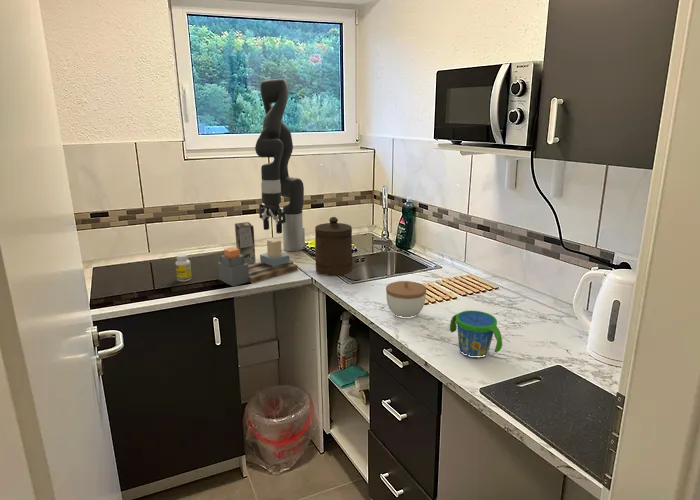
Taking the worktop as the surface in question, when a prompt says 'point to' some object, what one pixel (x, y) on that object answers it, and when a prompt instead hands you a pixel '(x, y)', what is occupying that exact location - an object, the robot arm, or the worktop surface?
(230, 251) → the button
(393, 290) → the lidded bowl
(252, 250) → the coffee box
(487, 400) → the worktop surface
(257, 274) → the rail bed
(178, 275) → the supplement bottle
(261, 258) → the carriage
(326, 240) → the wooden container
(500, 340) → the snack cup
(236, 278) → the cabinet
